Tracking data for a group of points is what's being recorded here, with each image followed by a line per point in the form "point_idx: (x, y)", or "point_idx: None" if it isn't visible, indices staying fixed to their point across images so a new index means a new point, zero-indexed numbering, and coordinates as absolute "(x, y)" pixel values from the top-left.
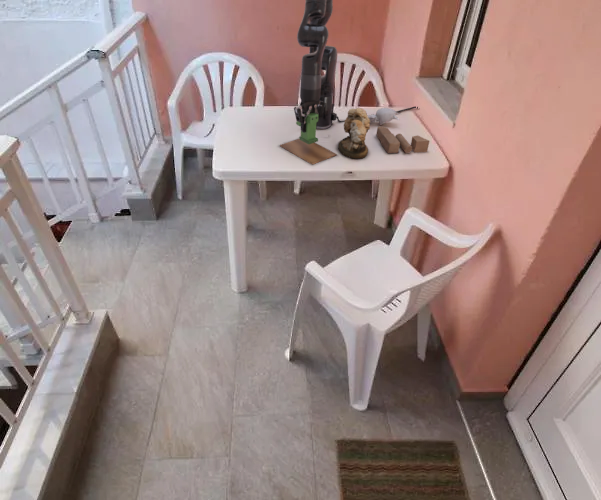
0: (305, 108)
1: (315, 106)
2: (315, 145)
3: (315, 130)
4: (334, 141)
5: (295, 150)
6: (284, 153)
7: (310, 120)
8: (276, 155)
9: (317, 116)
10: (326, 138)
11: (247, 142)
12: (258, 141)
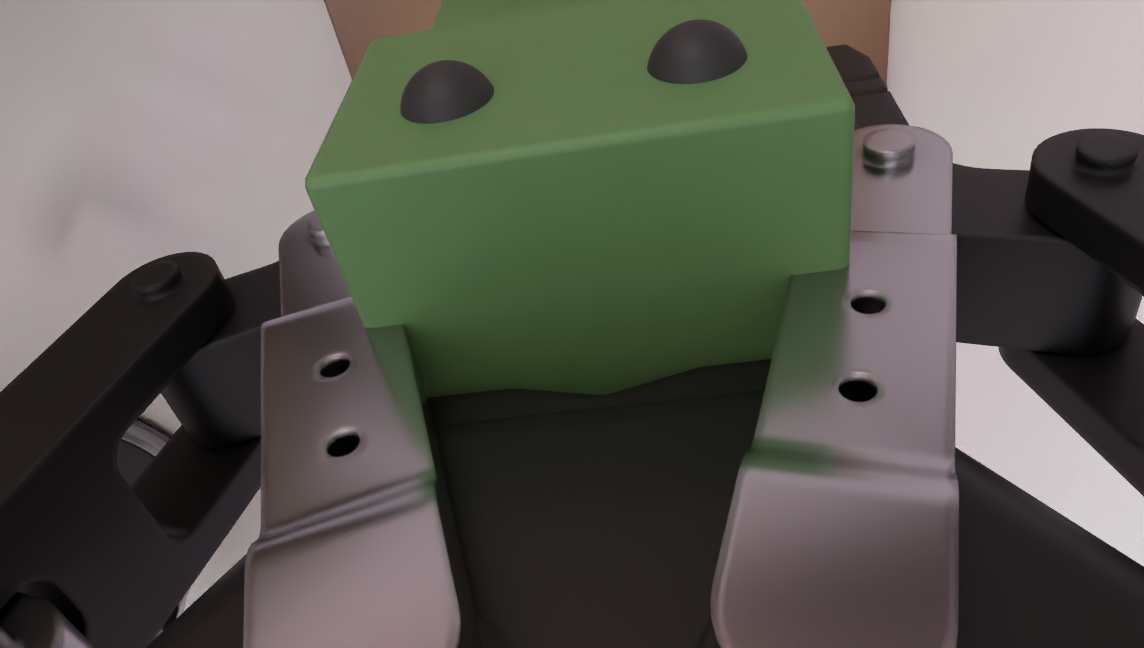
0: (1132, 624)
1: (369, 618)
2: (400, 17)
3: (455, 5)
4: (5, 38)
5: (810, 10)
6: (988, 34)
7: (812, 30)
8: (1140, 31)
9: (384, 129)
10: (116, 180)
11: (1106, 467)
12: (989, 443)
